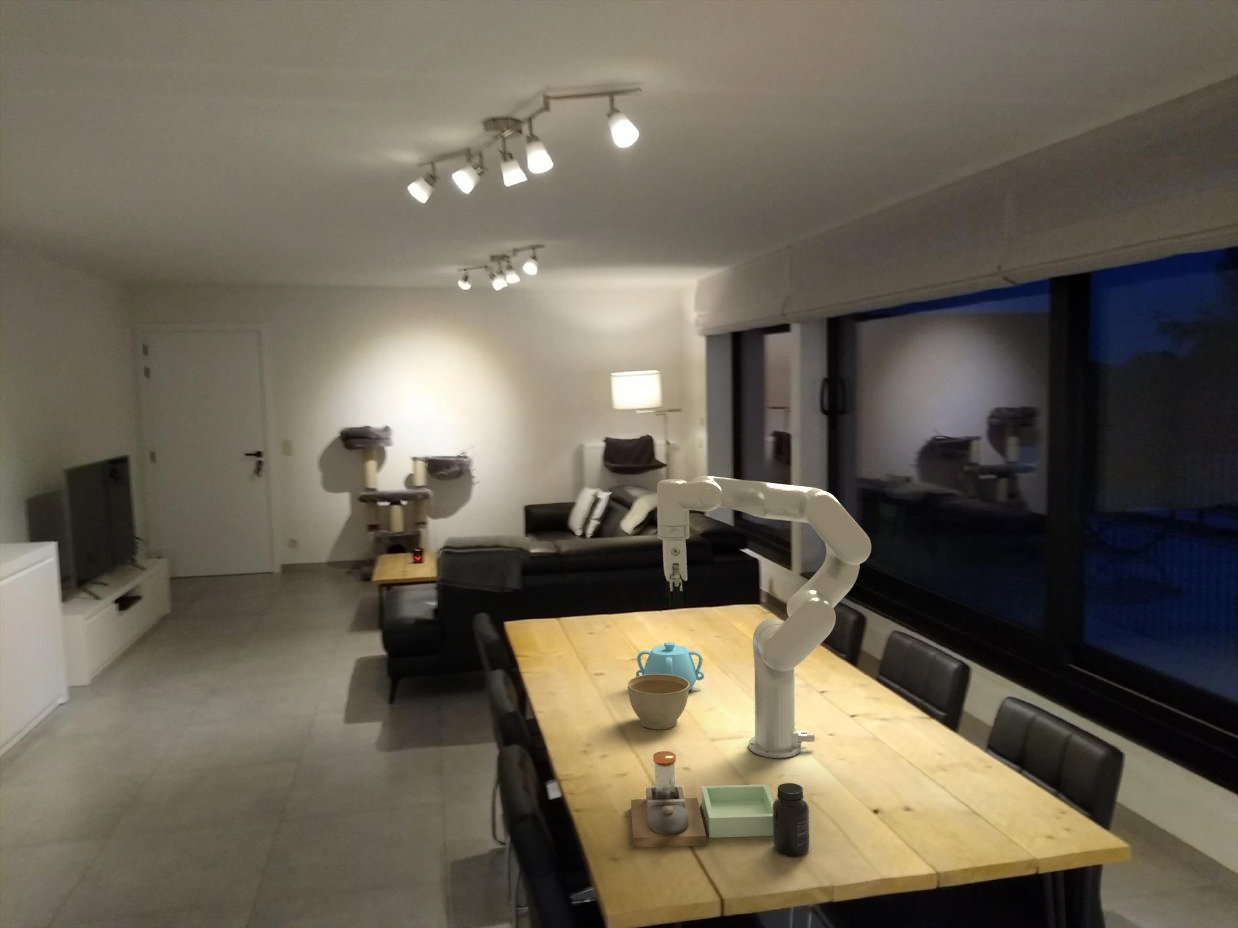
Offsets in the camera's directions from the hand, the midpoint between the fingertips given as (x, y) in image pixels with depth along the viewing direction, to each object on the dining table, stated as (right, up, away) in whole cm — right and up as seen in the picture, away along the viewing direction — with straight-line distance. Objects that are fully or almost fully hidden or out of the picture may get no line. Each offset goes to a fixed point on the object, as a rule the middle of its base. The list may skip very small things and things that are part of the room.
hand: (674, 602), depth 214 cm
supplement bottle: (+20, -41, -43) cm, 62 cm away
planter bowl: (-3, -35, +21) cm, 41 cm away
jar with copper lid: (-4, -38, -30) cm, 48 cm away
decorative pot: (+2, -33, +48) cm, 58 cm away
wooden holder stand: (-4, -40, -34) cm, 52 cm away
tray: (+11, -39, -31) cm, 52 cm away
